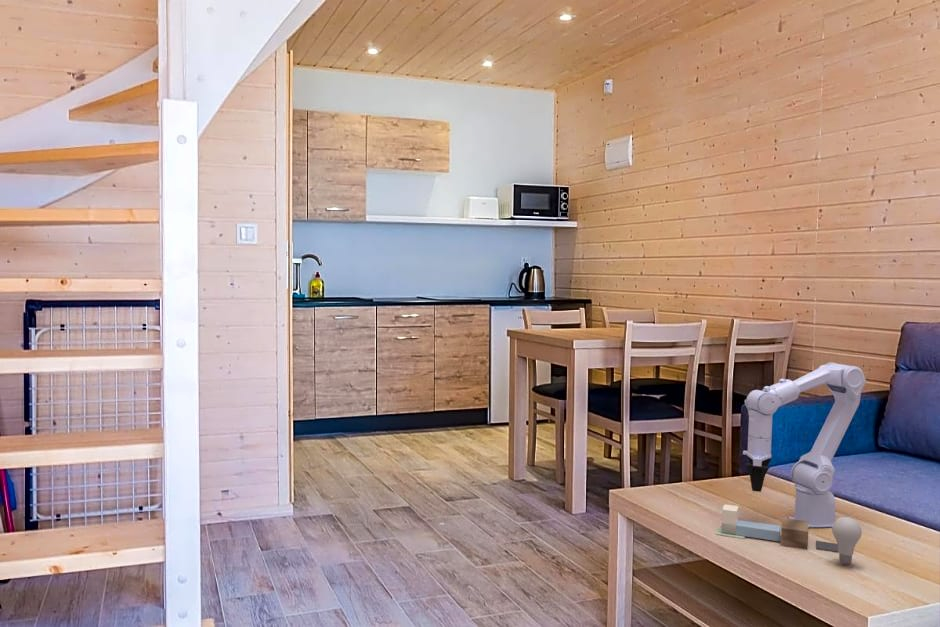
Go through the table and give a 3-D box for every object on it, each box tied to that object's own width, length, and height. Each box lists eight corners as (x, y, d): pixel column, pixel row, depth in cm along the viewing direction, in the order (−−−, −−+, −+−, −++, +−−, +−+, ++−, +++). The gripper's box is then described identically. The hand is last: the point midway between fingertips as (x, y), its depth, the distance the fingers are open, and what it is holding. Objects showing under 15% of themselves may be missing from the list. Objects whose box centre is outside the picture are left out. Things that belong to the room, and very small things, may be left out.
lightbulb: (826, 564, 176) (828, 517, 176) (836, 557, 180) (838, 511, 180) (854, 571, 172) (856, 523, 171) (863, 565, 176) (866, 518, 175)
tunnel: (807, 538, 193) (808, 521, 193) (807, 549, 185) (808, 531, 185) (781, 534, 196) (782, 517, 196) (780, 545, 188) (781, 527, 187)
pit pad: (842, 545, 189) (842, 544, 189) (843, 553, 183) (843, 552, 183) (816, 541, 191) (816, 540, 191) (816, 549, 186) (816, 548, 186)
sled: (780, 535, 194) (781, 511, 194) (779, 541, 190) (780, 517, 189) (723, 526, 200) (724, 504, 199) (721, 532, 195) (722, 509, 195)
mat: (746, 530, 198) (746, 529, 198) (744, 538, 192) (744, 537, 192) (718, 526, 201) (718, 525, 201) (715, 534, 195) (715, 533, 195)
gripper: (745, 429, 209) (743, 479, 210) (741, 439, 196) (739, 492, 196) (773, 432, 206) (771, 482, 207) (771, 442, 193) (768, 496, 194)
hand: (757, 487), depth 201 cm, fingers open, 7 cm apart
